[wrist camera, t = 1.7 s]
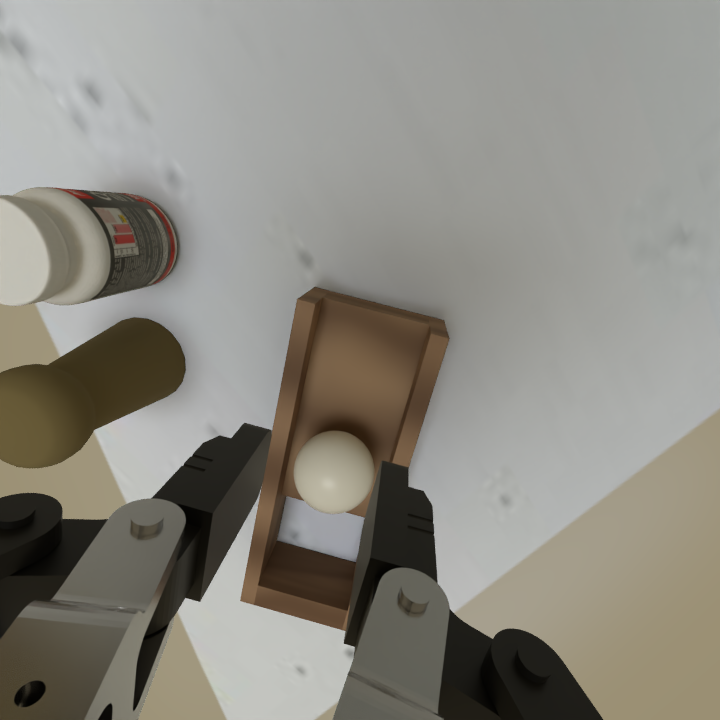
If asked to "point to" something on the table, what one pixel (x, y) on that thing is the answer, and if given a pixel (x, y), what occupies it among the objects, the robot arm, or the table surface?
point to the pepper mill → (85, 391)
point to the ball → (334, 472)
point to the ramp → (338, 413)
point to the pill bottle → (80, 245)
